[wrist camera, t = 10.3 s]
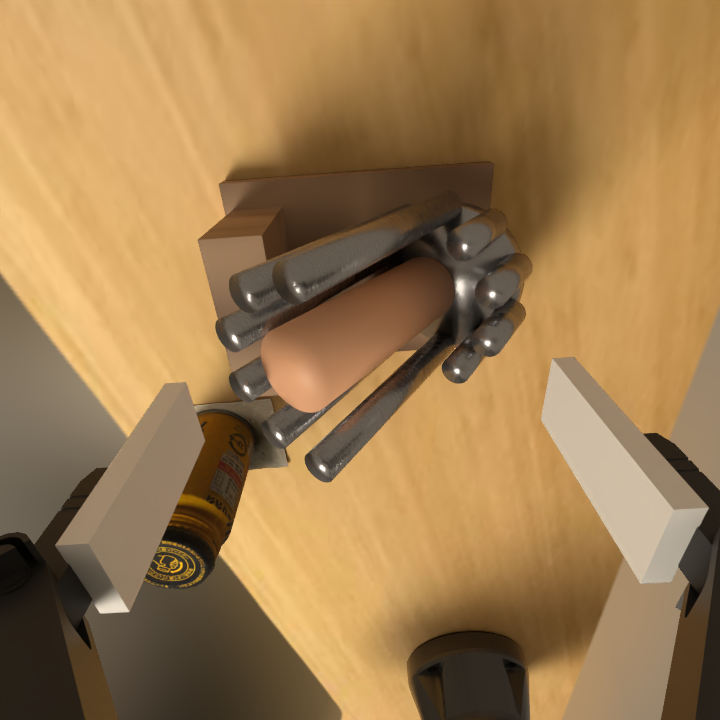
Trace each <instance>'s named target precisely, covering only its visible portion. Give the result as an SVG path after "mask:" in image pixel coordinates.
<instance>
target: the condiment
mask: <svg viewBox="0 0 720 720" xmlns="http://www.w3.org/2000/svg"><path fill="white" fill-rule="evenodd" d="M194 408H195V411H196V414H197V417H198V420H199V423H200V426H201V429H202V433H203V436H204V439H205V442H204V444H203V447H202V449H201V451H200V453H199V456H198V458H197V460H196V463H195V465H194V467H193V469H192V472H191V474H190V476H189V478H188V481H187V483H186V485H185V487H184V490H183V492H182V494H181V496H180V499H179V501H178V503H177V505H176V508H175V510H174V512H173V515H172V517H171V519H170V521H169V524H168V526H167V528H166V530H165V533H164V535H163V537H162V539H161V542H160V544H159V546H158V548H157V551H156V553H155V555H154V558H153V560H152V562H151V564H150V567H149V569H148V571H147V573H146V576H145V578H144V580H143V581H145V582H147V583H149V584H153V585H156V586H158V587H163V588H169V589H171V588H173V589H186V588H190V587H194V586H197V585H199V584H201V583H202V582H203V581H204V580H205V579H206V578H207V577H208V575H209V574H210V573H211V572H212V571H213V569H214V566H215V559H216V557H217V555H218V554H219V551H220V549H221V546H222V545H223V544H224V543H225V541H226V540H227V539H228V537H229V535H230V533H231V529H232V525H233V522H234V518H235V515H236V511H237V508H238V504H239V501H240V497H241V494H242V490H243V487H244V483H245V480H246V477H247V473H248V470H252V469H261V468H279V467H287V466H288V463H287V460H286V454H285V450H284V449H278V448H276V447H275V446H273V445H272V444H271V443H270V442H269V441H268V440H267V439H266V437H265V436H264V434H263V431H262V423H263V421H265V420H266V419H267V418H268V417H270V416H271V415H272V414H274V413H275V412H274V409H273V405H272V402H271V398H269V399H261V400H253V401H252V402H245V401H240V402H232V403H231V402H229V403H214V404H205V405H195V406H194ZM247 418H249V420H247ZM251 420H254V421H255V422H252V421H251Z"/></svg>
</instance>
